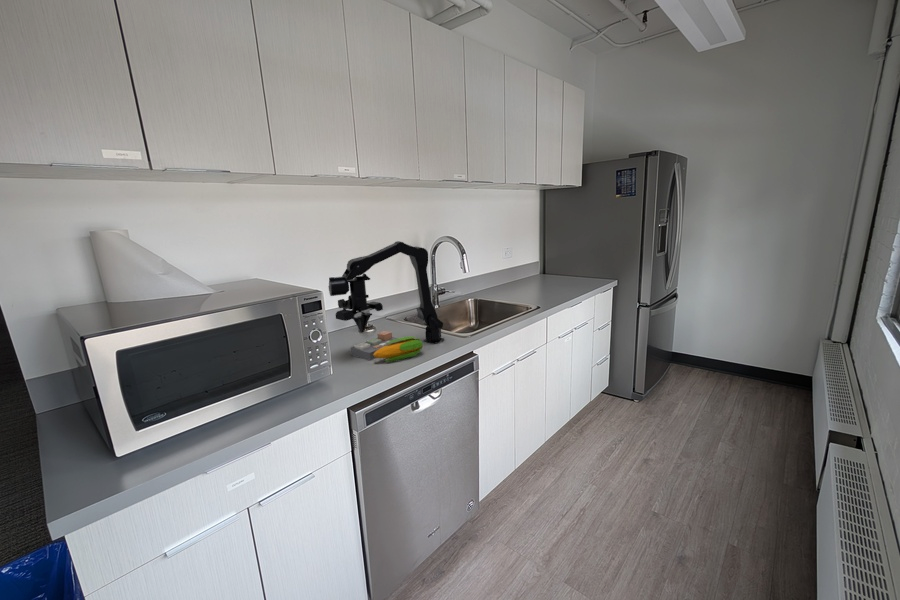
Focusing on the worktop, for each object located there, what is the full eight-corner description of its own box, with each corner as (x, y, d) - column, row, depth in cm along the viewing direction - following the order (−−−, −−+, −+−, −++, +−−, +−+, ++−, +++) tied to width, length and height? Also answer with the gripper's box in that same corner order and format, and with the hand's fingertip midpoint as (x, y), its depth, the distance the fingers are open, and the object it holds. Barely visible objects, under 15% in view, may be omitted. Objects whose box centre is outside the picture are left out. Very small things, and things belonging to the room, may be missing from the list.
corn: (426, 335, 151) (376, 346, 141) (427, 355, 153) (378, 367, 142) (417, 332, 158) (368, 342, 147) (418, 350, 159) (371, 362, 149)
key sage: (374, 346, 164) (374, 338, 163) (382, 348, 161) (381, 339, 160) (367, 349, 160) (366, 340, 160) (374, 351, 158) (373, 342, 157)
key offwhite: (363, 350, 159) (362, 342, 158) (370, 352, 156) (369, 344, 156) (355, 353, 156) (354, 345, 155) (362, 355, 153) (361, 347, 152)
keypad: (384, 341, 170) (384, 334, 169) (403, 346, 163) (403, 338, 162) (351, 354, 156) (350, 346, 155) (370, 360, 149) (369, 352, 149)
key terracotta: (385, 338, 168) (384, 330, 167) (392, 340, 165) (391, 332, 165) (377, 341, 165) (377, 333, 164) (385, 343, 162) (384, 335, 161)
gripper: (363, 286, 163) (366, 323, 166) (324, 295, 149) (328, 335, 152) (382, 288, 156) (385, 327, 160) (343, 298, 142) (347, 340, 145)
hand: (361, 332), depth 154 cm, fingers closed
